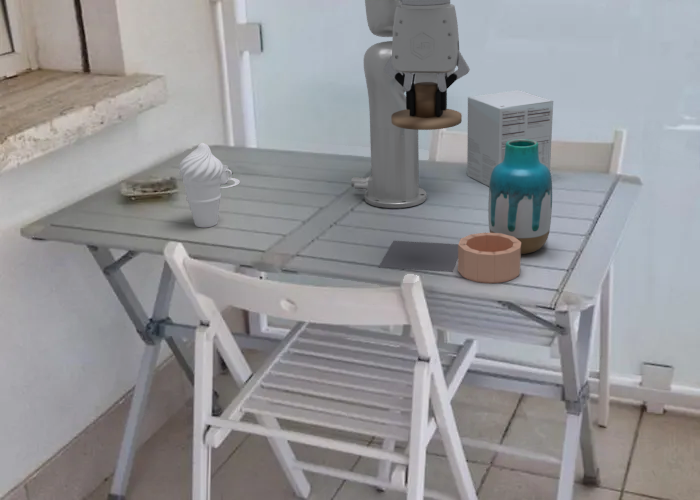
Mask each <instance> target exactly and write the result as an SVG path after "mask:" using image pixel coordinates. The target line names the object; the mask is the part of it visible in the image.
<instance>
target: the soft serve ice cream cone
mask: <svg viewBox="0 0 700 500" xmlns="http://www.w3.org/2000/svg"><path fill="white" fill-rule="evenodd" d="M223 165H224V164H223V162H222V161H221V160H220V159H219V158H217V157H216V156H215V155H214V154H213V153H212V150H211V148H210V146H209V145H208V144H207V143H206V142H201V143H199V144H198V146H197V147H196V148H195V149H194V150H192V151H191V152H190V153H189V154H187V156H186V157H184V158H183V159H182V160H181V161H180V164H179V165H178V171H179V175H180V176H181V177H182V184H183V185H184V189H185V190H184V191H185V195H186V201H187V202H188V207H189V209H190V212H191V213H190V214H191V216H192V219H193V223H194V226H195V227H198V228H211V227H214V226H216V225H218V222H219V212H220V204H221V199H222V194H221V191H222V190H221V187H222V186H221V185H220V182H221V175H222V173H223Z"/></svg>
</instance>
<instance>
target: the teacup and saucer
mask: <svg viewBox="0 0 700 500" xmlns="http://www.w3.org/2000/svg"><path fill="white" fill-rule="evenodd" d="M232 175H233V172H232V170H231V169H229V166H228V165H227V164H223V173H222V175H221V182H220V185H226V184H228V182H230V181H233V182H234V183H233V184H231V185H227V186H221V189H227V188H232V187H235V186H238V185H239V184H240V183H241V180H239V179H238V178H235V177H232Z"/></svg>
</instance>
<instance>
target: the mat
mask: <svg viewBox="0 0 700 500" xmlns="http://www.w3.org/2000/svg"><path fill="white" fill-rule="evenodd" d="M458 244H459V243H444V242H441V243H440V242H425V241H422V242H421V241H409V240H393V241H392V243H391V244H390V246H389V247H388V250H387V251H386V253H385V254H384V257H383V258H382V259H381V262H380V263H379V265H378V268H385V269H388V268H389V269H398V270H401V269H402V270H416V271H431V272H445V273H447V272H449V273H453V272H454V269H455V267H456V264H457V263H458Z"/></svg>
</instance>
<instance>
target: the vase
mask: <svg viewBox="0 0 700 500" xmlns="http://www.w3.org/2000/svg"><path fill="white" fill-rule="evenodd" d="M487 207H488V210H487V211H488V215H487V216H488V229H489V230H488V232H489V233H502V234H505V235H509V236H513V237H515V238H516V239H518V240H519V241H520V242H521V255H525V254H526V255H527V254H531V253H534V252H537V251H538V250H539V251H540V249H541V248H542V247H544V245H545V244H546V242H547V241H548V238H549V235H550V230H551V223H552V211H553V208H552V207H553V182H552V174H551V170H550V171H549V169H548V168H547V166H545V165H544V164H542V163H540V161H539V148H538V143H537V142H536V141H534V140H529V139H515V140H510V141H508V142H506V145H505V155H504V160H503V162H502V163H500V164H498V165H497V166H495V167H494V169H493V171H492V173H491V178H490V185H489V186H488V206H487Z"/></svg>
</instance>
